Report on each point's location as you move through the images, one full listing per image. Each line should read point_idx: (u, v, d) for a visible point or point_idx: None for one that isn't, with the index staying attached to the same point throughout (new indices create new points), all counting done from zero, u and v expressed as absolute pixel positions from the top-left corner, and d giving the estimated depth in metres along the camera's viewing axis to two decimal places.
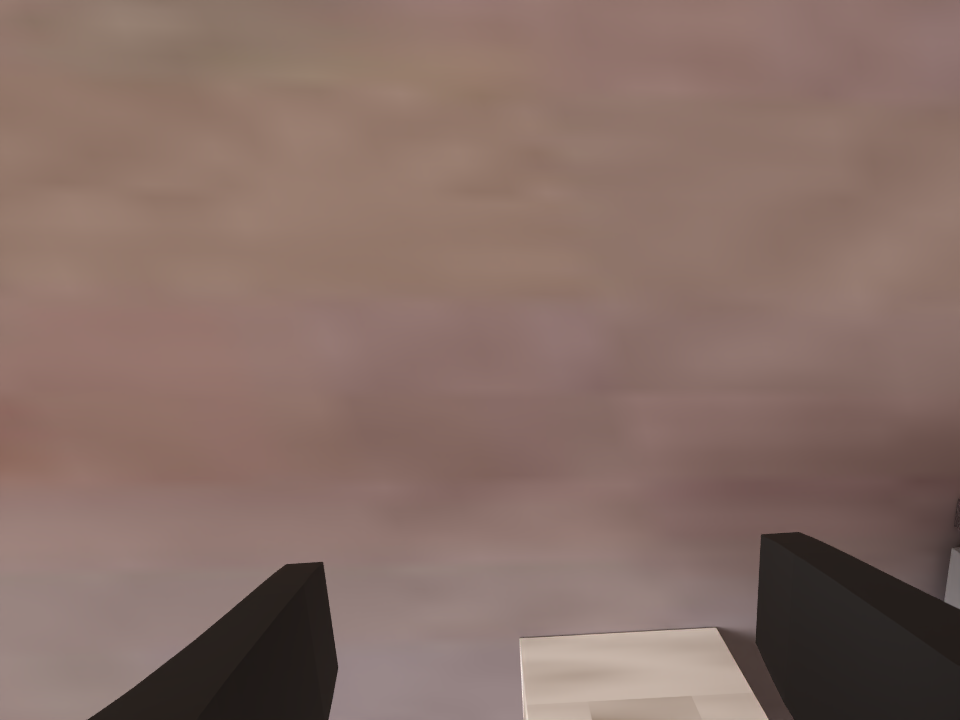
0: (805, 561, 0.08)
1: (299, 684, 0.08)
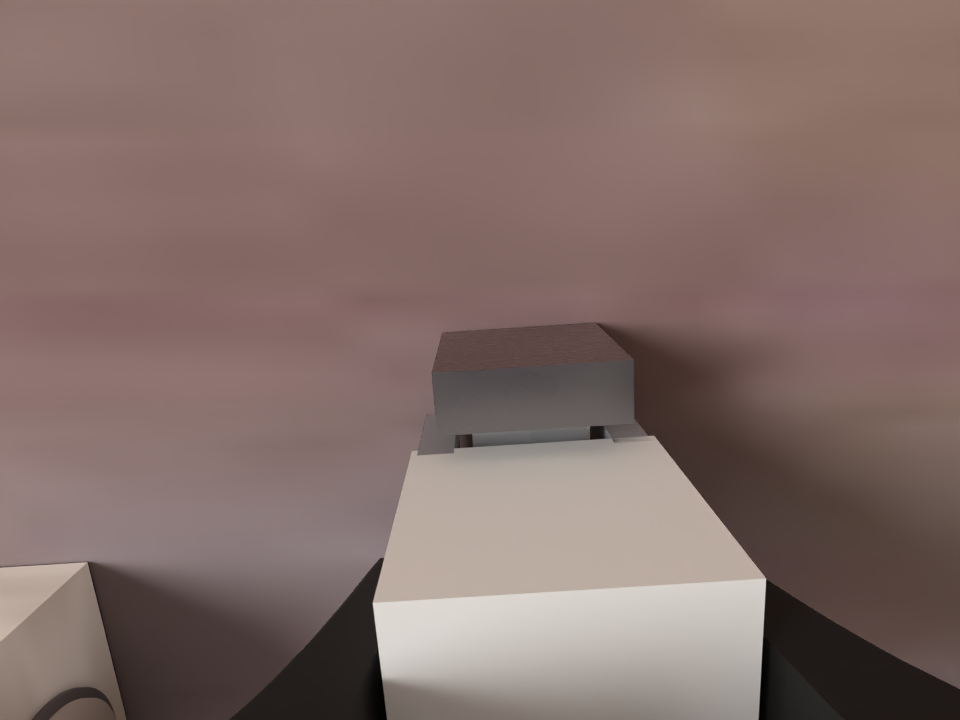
0: None
1: None
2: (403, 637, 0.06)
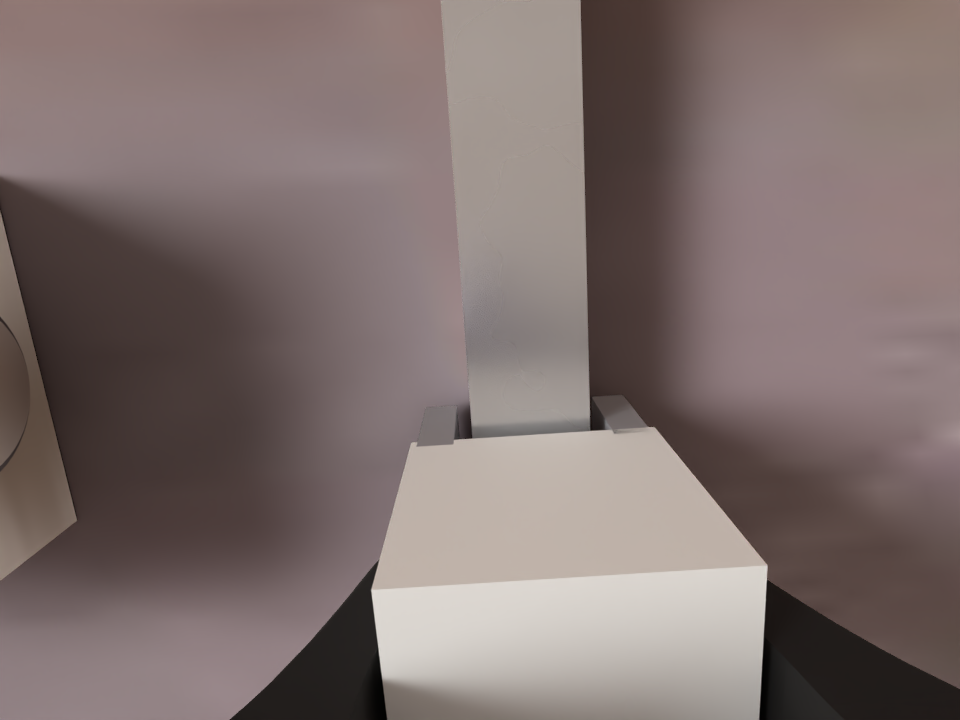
0: None
1: None
2: (402, 624, 0.06)
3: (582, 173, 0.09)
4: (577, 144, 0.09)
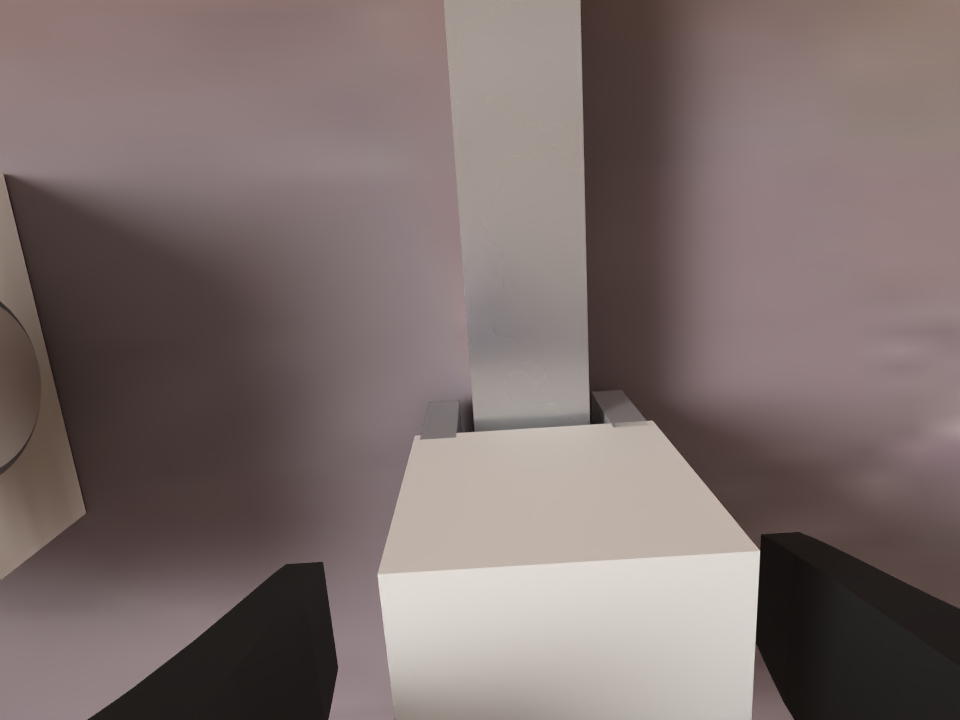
0: (805, 561, 0.08)
1: (299, 684, 0.08)
2: (407, 608, 0.07)
3: (582, 171, 0.10)
4: (577, 143, 0.09)
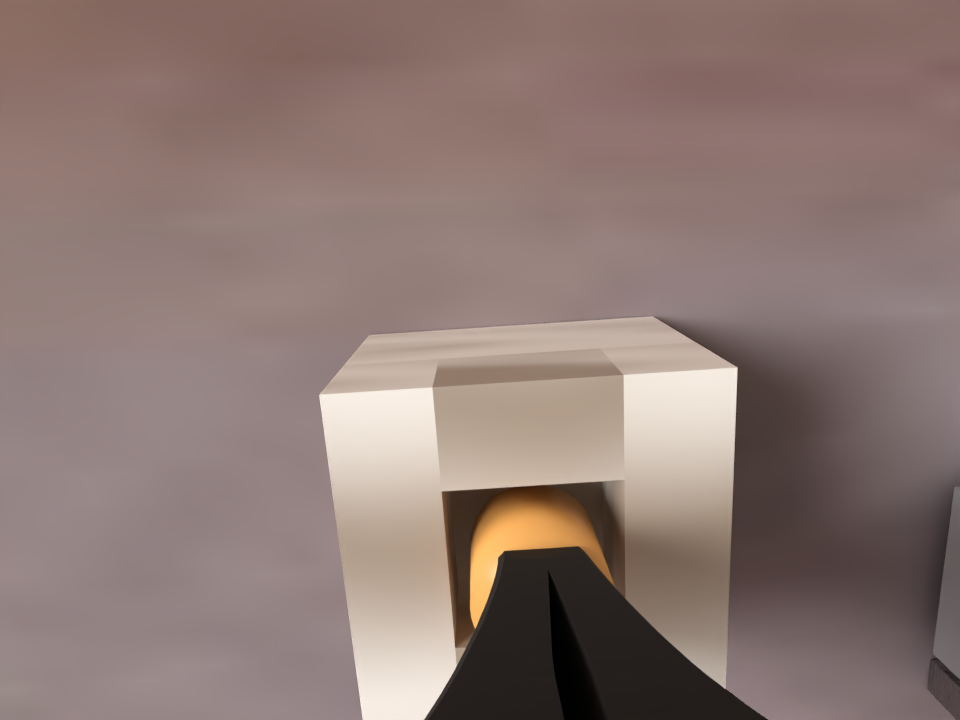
0: (551, 577, 0.08)
1: None
2: None
3: None
4: None
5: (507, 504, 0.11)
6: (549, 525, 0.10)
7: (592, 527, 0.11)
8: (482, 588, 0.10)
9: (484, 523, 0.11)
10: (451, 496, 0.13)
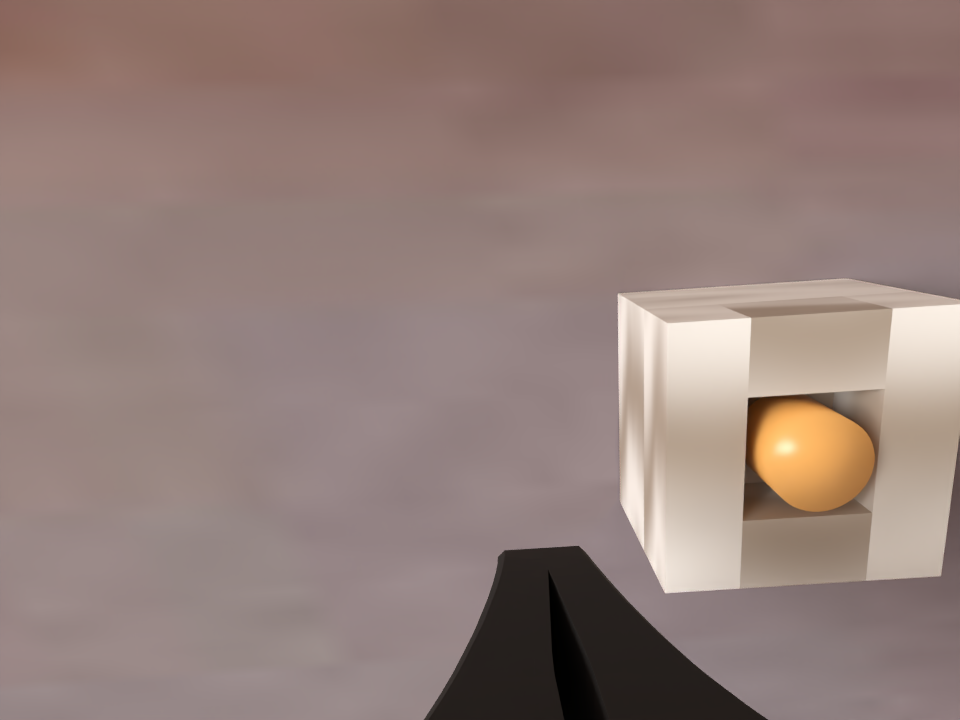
0: (550, 577, 0.08)
1: None
2: None
3: None
4: None
5: (776, 401, 0.15)
6: (824, 410, 0.14)
7: None
8: (781, 452, 0.14)
9: (759, 415, 0.15)
10: None
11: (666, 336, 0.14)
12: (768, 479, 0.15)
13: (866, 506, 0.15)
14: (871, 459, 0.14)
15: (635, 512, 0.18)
